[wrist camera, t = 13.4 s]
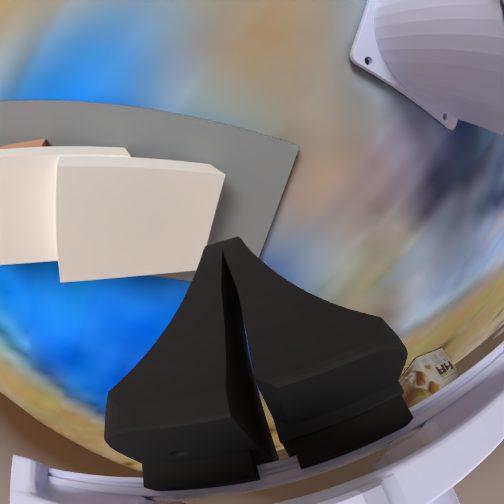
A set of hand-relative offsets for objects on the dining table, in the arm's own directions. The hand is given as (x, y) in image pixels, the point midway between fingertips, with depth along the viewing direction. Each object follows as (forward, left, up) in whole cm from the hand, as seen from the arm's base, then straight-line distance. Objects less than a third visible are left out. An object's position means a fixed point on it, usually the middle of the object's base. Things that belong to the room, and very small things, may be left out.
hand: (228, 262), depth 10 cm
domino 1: (+5, 0, -4) cm, 6 cm away
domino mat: (+8, 0, -5) cm, 9 cm away
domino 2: (+1, 0, -4) cm, 4 cm away
